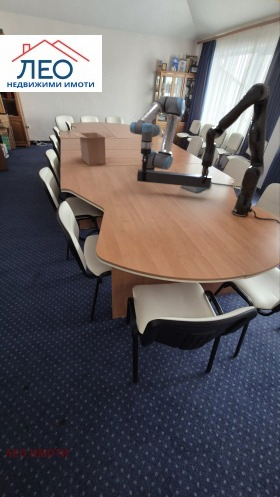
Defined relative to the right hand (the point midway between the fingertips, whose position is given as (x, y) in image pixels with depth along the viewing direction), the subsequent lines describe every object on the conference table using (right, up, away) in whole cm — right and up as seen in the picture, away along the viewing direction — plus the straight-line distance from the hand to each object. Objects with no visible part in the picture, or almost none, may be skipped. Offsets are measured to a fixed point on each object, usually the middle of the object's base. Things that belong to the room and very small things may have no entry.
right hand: (202, 182), depth 167 cm
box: (-98, +44, +70) cm, 128 cm away
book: (+2, +3, +25) cm, 26 cm away
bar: (-22, 0, +3) cm, 23 cm away
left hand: (-44, +3, +4) cm, 45 cm away
